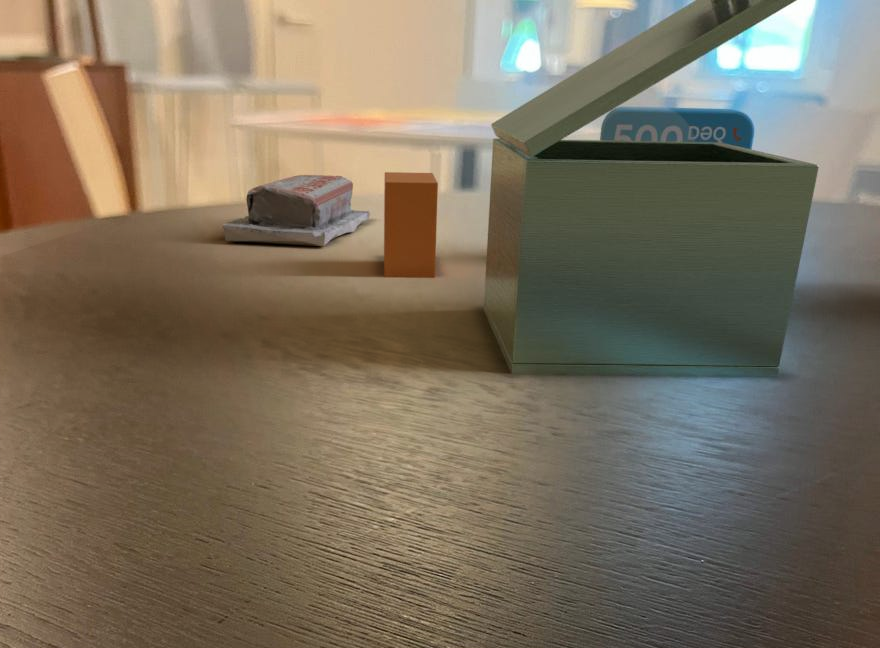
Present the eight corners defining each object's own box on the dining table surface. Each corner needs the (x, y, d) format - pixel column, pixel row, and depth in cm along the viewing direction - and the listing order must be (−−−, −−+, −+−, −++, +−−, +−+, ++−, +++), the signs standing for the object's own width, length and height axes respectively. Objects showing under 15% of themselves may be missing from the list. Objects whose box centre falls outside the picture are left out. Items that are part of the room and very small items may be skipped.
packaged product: (278, 170, 108) (370, 173, 106) (280, 219, 110) (370, 223, 108) (218, 186, 92) (324, 191, 91) (221, 243, 95) (325, 248, 93)
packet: (430, 261, 88) (432, 172, 84) (434, 279, 81) (438, 182, 77) (383, 261, 88) (384, 172, 84) (384, 278, 81) (385, 182, 77)
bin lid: (728, -3, 61) (694, -104, 59) (836, -24, 47) (798, -158, 44) (496, 136, 65) (455, 47, 62) (530, 157, 50) (479, 42, 48)
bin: (694, 316, 70) (721, 142, 65) (776, 381, 56) (819, 164, 50) (483, 313, 70) (493, 138, 65) (511, 378, 55) (526, 160, 50)
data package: (589, 264, 88) (605, 107, 82) (588, 256, 92) (603, 106, 86) (731, 270, 87) (758, 111, 81) (724, 261, 90) (749, 109, 85)
